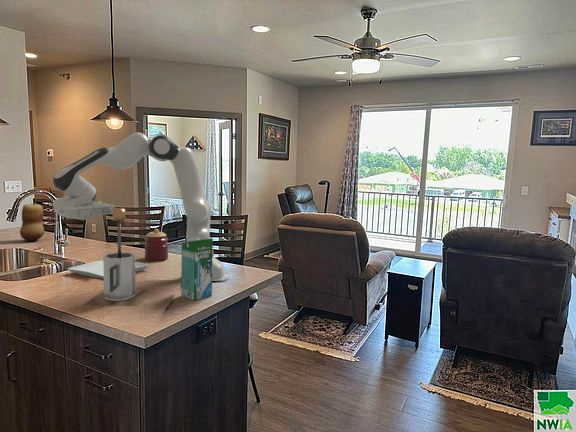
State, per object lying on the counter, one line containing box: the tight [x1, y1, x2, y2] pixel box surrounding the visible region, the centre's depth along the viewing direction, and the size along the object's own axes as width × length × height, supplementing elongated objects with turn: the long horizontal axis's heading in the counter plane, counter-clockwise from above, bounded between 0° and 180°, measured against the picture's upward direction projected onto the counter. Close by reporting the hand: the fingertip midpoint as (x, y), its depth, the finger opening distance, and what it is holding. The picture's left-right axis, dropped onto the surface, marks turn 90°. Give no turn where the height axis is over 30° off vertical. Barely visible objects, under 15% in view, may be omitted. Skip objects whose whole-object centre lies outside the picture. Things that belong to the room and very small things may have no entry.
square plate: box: [67, 259, 150, 280], centre depth 194 cm, size 27×27×4 cm
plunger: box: [112, 207, 126, 258], centre depth 153 cm, size 8×8×24 cm
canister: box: [144, 228, 169, 262], centre depth 224 cm, size 13×13×18 cm
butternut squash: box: [19, 203, 45, 242], centre depth 260 cm, size 14×13×25 cm
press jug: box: [102, 252, 136, 302], centre depth 153 cm, size 11×14×17 cm
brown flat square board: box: [83, 288, 153, 307], centre depth 155 cm, size 20×20×2 cm
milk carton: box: [180, 237, 214, 302], centre depth 163 cm, size 9×9×25 cm
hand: (101, 212), depth 157 cm, fingers open, 8 cm apart
